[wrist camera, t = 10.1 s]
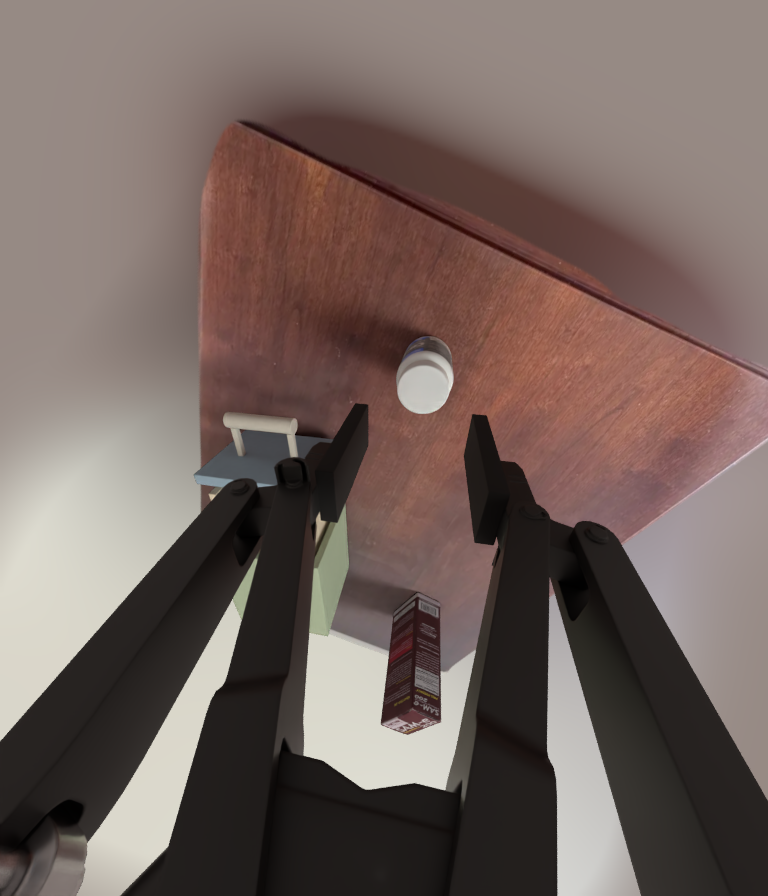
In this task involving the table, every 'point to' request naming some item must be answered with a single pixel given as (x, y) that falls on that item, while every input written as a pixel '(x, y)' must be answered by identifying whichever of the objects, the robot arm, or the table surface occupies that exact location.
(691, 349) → the table surface
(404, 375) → the pill bottle
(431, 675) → the supplement box
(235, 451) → the drawer
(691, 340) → the table surface
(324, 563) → the green box-shaped shell
